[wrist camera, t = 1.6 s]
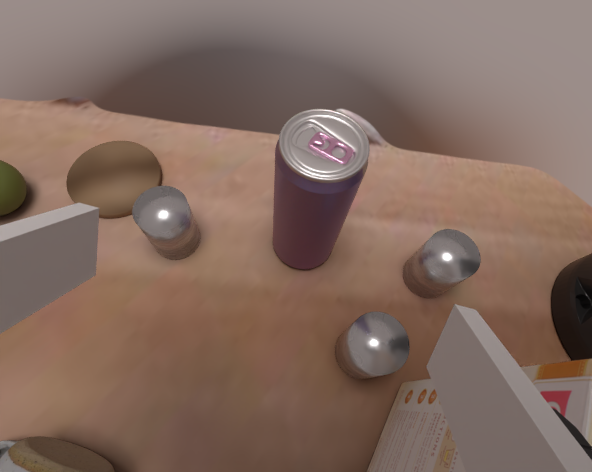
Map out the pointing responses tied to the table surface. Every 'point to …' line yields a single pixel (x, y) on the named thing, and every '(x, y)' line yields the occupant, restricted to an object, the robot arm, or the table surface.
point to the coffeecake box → (435, 430)
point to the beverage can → (315, 183)
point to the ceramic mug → (49, 457)
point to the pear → (11, 188)
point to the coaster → (113, 177)
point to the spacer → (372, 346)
